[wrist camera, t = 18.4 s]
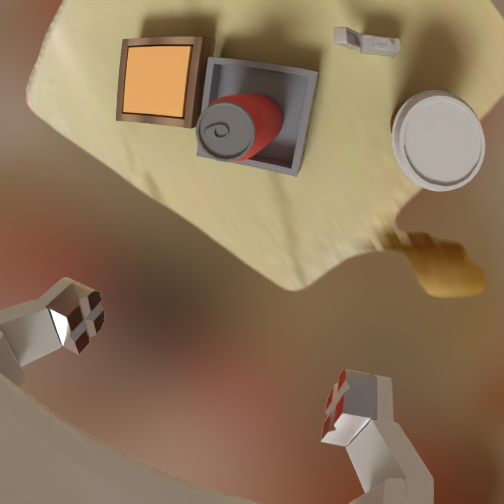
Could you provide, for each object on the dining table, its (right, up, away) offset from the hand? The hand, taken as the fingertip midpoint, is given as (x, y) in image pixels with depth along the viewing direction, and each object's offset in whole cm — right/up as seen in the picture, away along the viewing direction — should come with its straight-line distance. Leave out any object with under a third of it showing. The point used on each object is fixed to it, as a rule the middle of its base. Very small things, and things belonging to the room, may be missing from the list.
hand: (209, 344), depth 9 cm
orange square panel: (-11, +25, +25) cm, 37 cm away
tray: (+2, +20, +27) cm, 34 cm away
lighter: (+14, +27, +20) cm, 36 cm away
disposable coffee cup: (+21, +18, +23) cm, 36 cm away
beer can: (+2, +19, +27) cm, 33 cm away
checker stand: (-10, +26, +28) cm, 39 cm away
